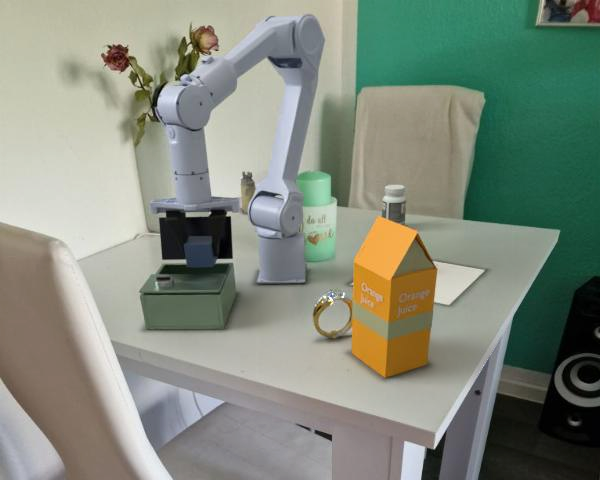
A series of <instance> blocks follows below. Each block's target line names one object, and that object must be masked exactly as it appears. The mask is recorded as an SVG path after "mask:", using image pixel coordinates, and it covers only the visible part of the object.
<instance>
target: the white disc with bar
mask: <svg viewBox="0 0 600 480" xmlns="http://www.w3.org/2000/svg"><path fill="white" fill-rule="evenodd" d="M154 285H155V287H156V288H169V287H172V286H173V285H174V279H173V277H172V276H159V277H156V278H155V279H154Z"/></svg>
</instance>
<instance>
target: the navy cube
mask: <svg viewBox="0 0 600 480" xmlns="http://www.w3.org/2000/svg"><path fill="white" fill-rule="evenodd" d="M184 249H185V256H186V260H185V263H187V267H214V265H215V263H217V260H218V259H217V258H218V256H214V254H213V248H212V236H189V238H188V239H187V241H186V242H185V244H184Z"/></svg>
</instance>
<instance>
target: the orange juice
mask: <svg viewBox="0 0 600 480" xmlns="http://www.w3.org/2000/svg"><path fill="white" fill-rule="evenodd" d="M433 261H434V260H433V259H432V258H431V255H430V253H429V251H428V249H427V247H426V245H425V244H424V241H423V240H422V238H421V236H420V234H419V231H418V230H416V229H413V228H410V227H408V226H403V225H401V224H398V223H395V222H393V221H390V220H388V219H385V218H383V217H382V216H380V215H378V216H377V218H376V220H374V223H373V225H372V227H371V229H370V230H369V232H368V234H367V236H366V237H365V239H364V241H363V243H362V245H361V247H360V248H359V251H358V252H357V254H356V255H355V258H354V259H353V280H352V283H353V285H352V301H353V303H352V317H353V318H352V327H351V354H352V355H354V356H355V357H356V358H357V359H359V360H360V361H362V363H364V364H365V365H367V366H368V367H369V368H371V369H372V370H373V371H375V372H376V373H378V374H379V375H380V376H381V377H383V378H384V379H387V378H389V377H392V376H396V375H399V374H402V373H406V372H408V371H411V370H414V369H417V368H418V369H419V368H421V367H424V366H427V365H428V359H429V352H430V351H429V350H430V341H431V332H432V327H433V319H434V307H435V305H434V304H435V302H434V297H435V288H436V279H437V269H438V268H436V266H435V265H434V263H433Z"/></svg>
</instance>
